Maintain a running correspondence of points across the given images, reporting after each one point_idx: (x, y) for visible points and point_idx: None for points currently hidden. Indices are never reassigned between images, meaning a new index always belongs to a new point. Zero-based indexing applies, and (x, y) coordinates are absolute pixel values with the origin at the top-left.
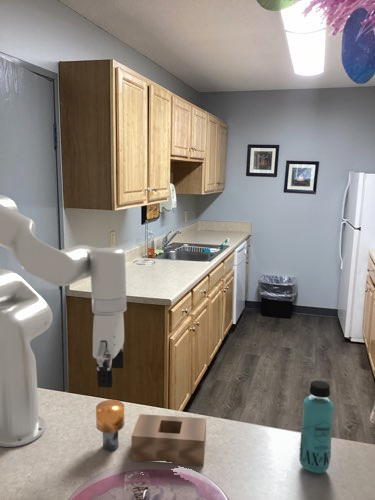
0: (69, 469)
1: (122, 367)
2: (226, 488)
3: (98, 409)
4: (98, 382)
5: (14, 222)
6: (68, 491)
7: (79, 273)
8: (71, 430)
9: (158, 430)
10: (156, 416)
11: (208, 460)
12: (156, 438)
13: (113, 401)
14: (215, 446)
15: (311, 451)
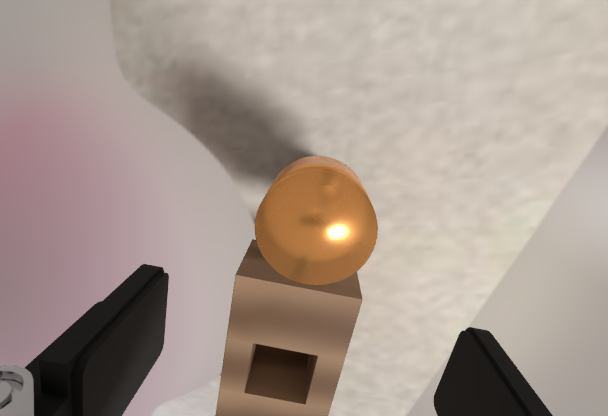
0: (218, 75)
1: (434, 404)
2: (166, 403)
3: (296, 184)
4: (129, 282)
5: None
6: (132, 88)
7: None
8: (425, 43)
9: (268, 343)
10: (341, 345)
11: None
12: (227, 336)
13: (360, 243)
14: None
15: None
